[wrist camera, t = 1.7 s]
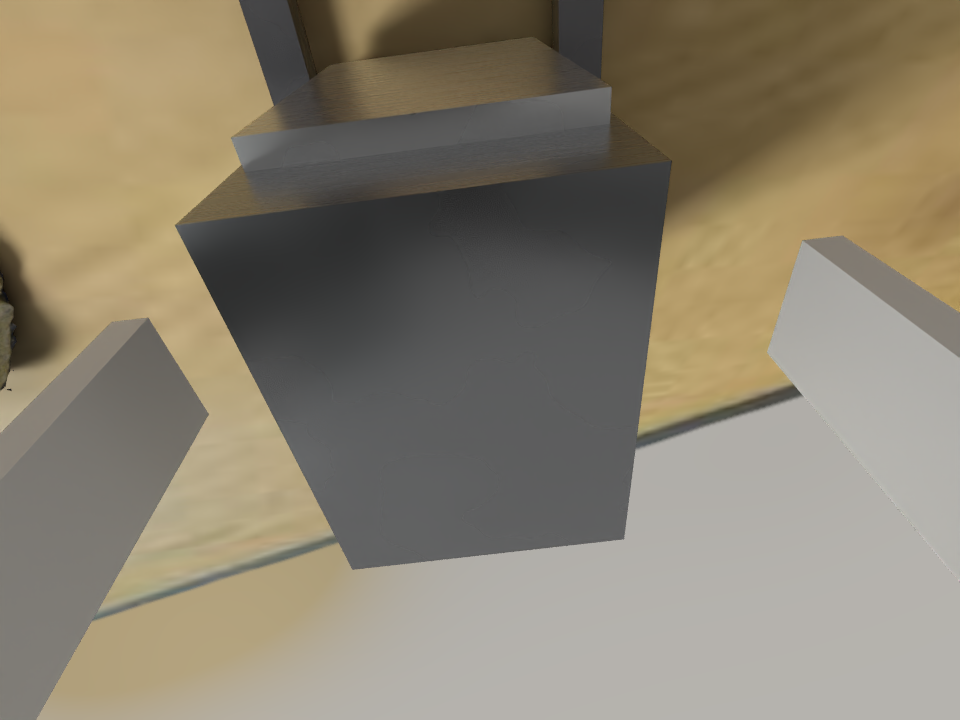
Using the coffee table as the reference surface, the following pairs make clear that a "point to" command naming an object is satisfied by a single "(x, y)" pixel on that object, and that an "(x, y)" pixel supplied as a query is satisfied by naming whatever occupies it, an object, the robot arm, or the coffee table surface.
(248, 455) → the coffee table surface
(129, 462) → the robot arm
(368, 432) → the grey stepped block
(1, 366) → the rock
